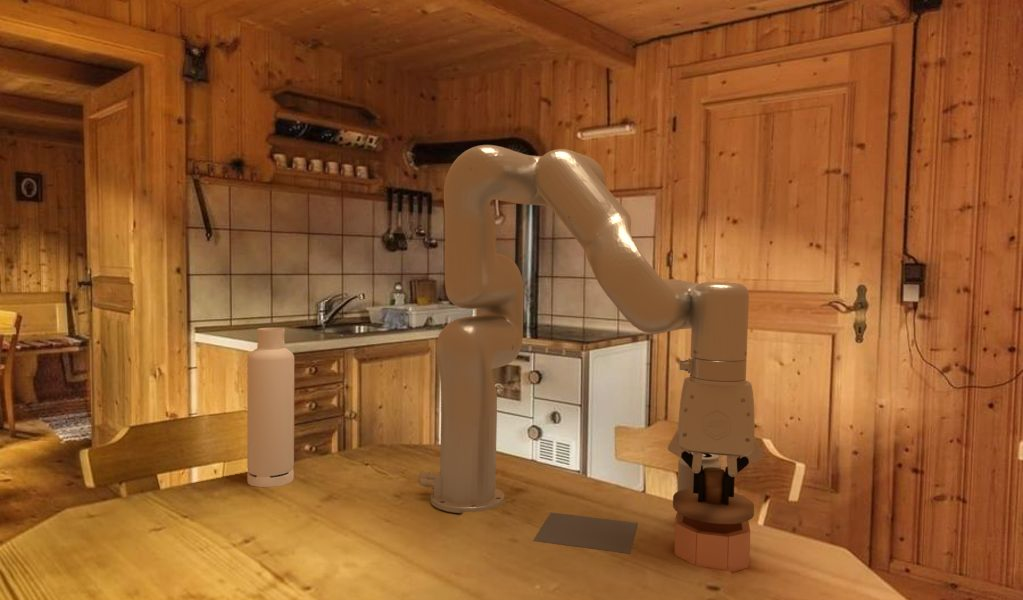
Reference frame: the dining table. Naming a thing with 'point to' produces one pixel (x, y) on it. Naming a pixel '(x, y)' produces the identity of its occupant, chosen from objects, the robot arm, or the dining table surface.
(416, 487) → the dining table surface
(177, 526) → the dining table surface
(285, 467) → the bottle
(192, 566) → the dining table surface
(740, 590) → the dining table surface
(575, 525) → the mat
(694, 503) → the lid
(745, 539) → the bowl
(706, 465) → the beverage can
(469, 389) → the robot arm
